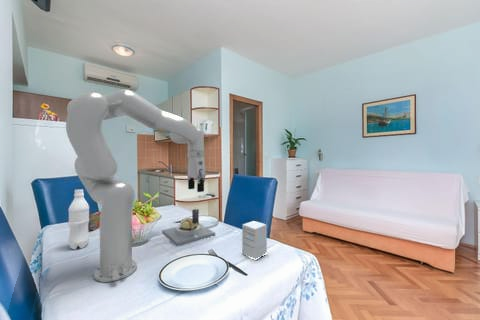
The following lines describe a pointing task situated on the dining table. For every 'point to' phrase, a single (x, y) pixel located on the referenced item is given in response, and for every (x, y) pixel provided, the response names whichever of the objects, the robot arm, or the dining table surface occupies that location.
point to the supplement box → (254, 239)
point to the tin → (94, 221)
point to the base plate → (186, 238)
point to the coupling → (191, 221)
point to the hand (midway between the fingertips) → (195, 190)
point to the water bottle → (78, 221)
